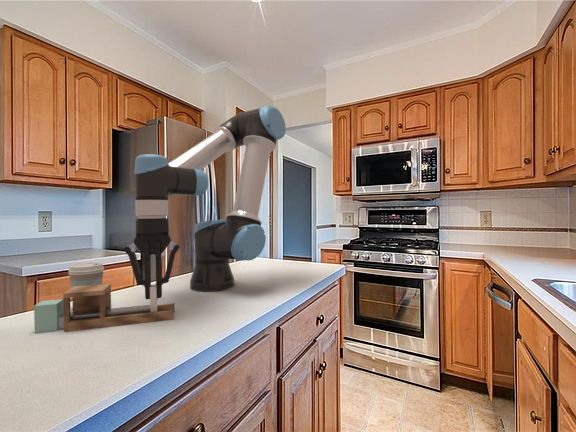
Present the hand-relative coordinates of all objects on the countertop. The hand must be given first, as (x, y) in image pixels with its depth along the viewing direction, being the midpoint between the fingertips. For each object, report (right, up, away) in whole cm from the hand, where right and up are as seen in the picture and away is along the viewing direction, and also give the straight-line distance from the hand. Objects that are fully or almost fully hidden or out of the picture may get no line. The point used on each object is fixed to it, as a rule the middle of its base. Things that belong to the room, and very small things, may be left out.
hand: (153, 311), depth 79 cm
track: (-7, -2, -2) cm, 7 cm away
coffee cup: (-22, -2, +8) cm, 24 cm away
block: (-21, -2, -7) cm, 22 cm away
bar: (-10, -2, -3) cm, 10 cm away
